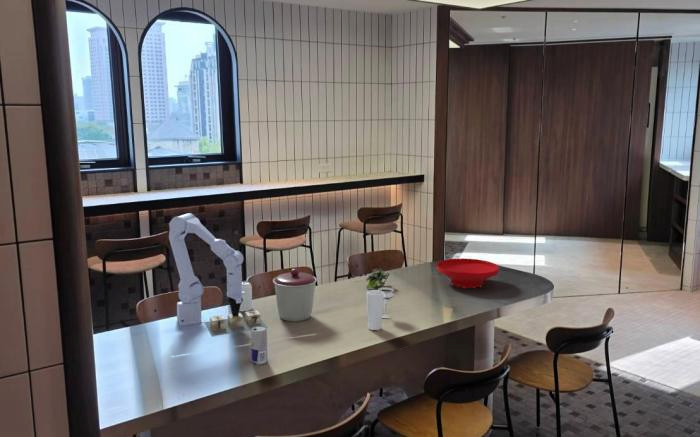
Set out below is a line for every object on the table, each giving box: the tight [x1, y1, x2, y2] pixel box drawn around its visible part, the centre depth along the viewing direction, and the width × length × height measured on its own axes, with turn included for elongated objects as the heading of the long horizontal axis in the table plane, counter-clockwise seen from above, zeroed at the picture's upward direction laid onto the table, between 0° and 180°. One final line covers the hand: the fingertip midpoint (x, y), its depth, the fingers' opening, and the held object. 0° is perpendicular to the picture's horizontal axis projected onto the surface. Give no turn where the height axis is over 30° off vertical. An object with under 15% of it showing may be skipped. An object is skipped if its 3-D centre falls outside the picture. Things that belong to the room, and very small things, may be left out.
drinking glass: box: [365, 289, 385, 331], centre depth 222 cm, size 7×7×15 cm
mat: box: [203, 316, 269, 337], centre depth 225 cm, size 22×16×1 cm
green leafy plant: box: [365, 268, 390, 290], centre depth 276 cm, size 11×11×12 cm
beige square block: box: [209, 314, 226, 331], centre depth 221 cm, size 5×5×4 cm
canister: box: [272, 268, 318, 323], centre depth 233 cm, size 18×18×21 cm
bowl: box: [436, 258, 500, 289], centre depth 283 cm, size 30×30×10 cm
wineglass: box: [377, 286, 395, 319], centre depth 235 cm, size 7×7×12 cm
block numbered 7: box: [244, 310, 262, 326], centre depth 227 cm, size 5×5×4 cm
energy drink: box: [250, 326, 268, 366], centre depth 191 cm, size 5×5×12 cm
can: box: [239, 280, 253, 312], centre depth 243 cm, size 6×6×12 cm
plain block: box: [227, 312, 244, 328], centre depth 224 cm, size 5×5×4 cm
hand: (235, 315), depth 224 cm, fingers closed
